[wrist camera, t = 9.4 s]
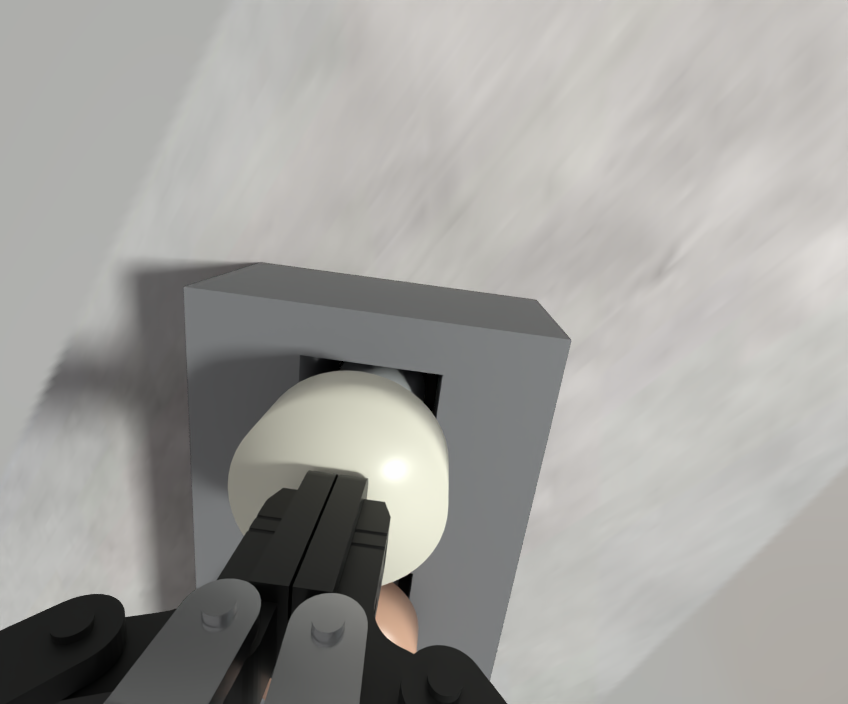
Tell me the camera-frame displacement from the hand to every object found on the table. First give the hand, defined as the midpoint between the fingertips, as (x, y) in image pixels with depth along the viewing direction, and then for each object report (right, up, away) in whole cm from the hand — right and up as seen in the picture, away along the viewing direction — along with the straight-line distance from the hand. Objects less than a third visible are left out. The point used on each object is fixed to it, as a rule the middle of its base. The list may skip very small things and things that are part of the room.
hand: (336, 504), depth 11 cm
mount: (0, -4, +12) cm, 13 cm away
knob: (0, +2, +7) cm, 7 cm away
